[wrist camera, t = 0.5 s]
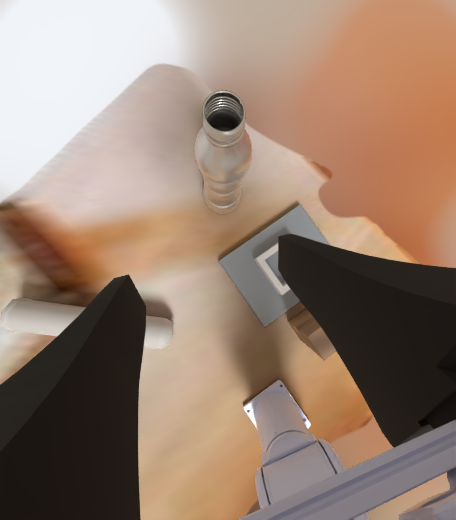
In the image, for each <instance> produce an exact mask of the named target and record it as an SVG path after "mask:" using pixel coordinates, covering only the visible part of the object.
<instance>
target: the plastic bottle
mask: <svg viewBox="0 0 456 520" xmlns="http://www.w3.org/2000/svg"><path fill="white" fill-rule="evenodd" d="M202 116H203V123H202V125H203V127H202V128H201V129H200V131H199V132H198V134H197V137H196V141H195V145H194V155H195V159H196V162H197V165H198V168H199V169H200V171H201V173H202V175H203V178H204V187H203V197H204V200H205V203H206V204H207V206H208V207H209V208H210V209H211V210H212V211H214V212H216V213H219V214H226V213H229V212H231V211H233V210H234V209H235V208H236V207H237V205H238V204H239V202H240V199H241V187H240V183H241V181H242V178H243V176H244V175H245V173H246V171H247V170H248V167H249V165H250V163H251V159H252V146H251V141H250V138H249V135H248V133H247V132H246V130H245V107H244V104H243V102H242V100H241V99H240V98H239V97H238V96H237V95H236V94H235V93H232V92H230V91H227V90H220V91H216V92H213V93H212V94H210V95H209V96H208V97H207V98H206V100H205V102H204V104H203V109H202Z"/></svg>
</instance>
